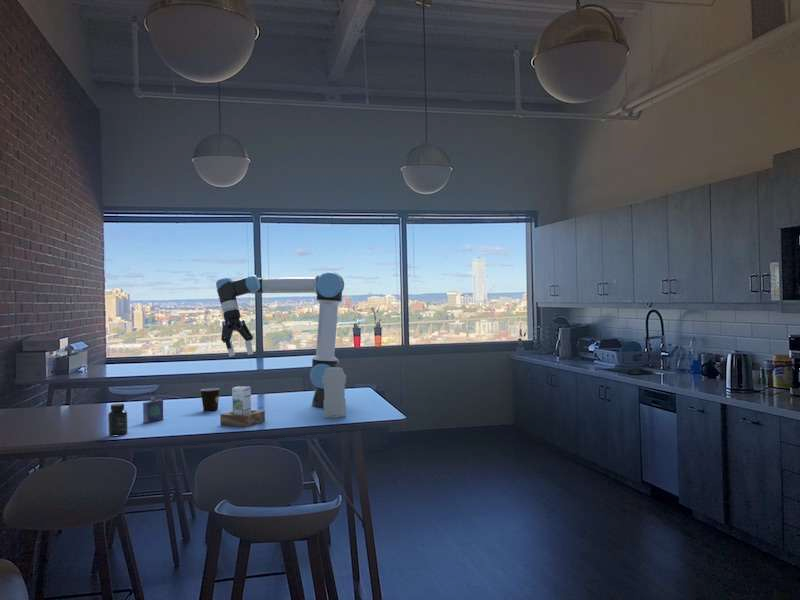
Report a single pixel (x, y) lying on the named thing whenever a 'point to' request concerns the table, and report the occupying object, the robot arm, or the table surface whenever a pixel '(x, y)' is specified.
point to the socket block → (242, 418)
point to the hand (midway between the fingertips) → (241, 355)
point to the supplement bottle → (117, 420)
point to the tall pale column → (334, 392)
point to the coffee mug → (210, 399)
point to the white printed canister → (241, 400)
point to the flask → (153, 410)
